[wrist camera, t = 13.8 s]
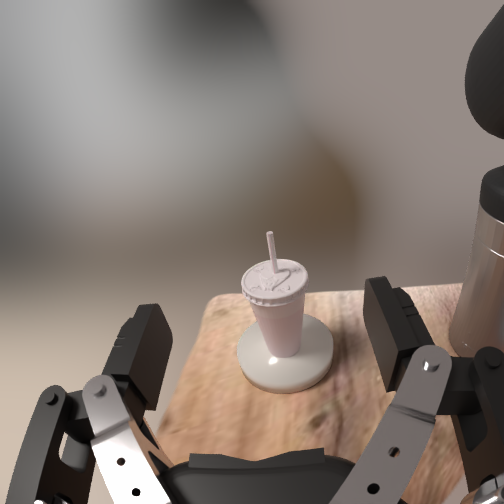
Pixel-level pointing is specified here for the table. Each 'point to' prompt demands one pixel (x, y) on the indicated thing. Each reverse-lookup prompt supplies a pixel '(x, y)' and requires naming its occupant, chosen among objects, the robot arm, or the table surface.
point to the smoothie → (277, 301)
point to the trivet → (286, 359)
